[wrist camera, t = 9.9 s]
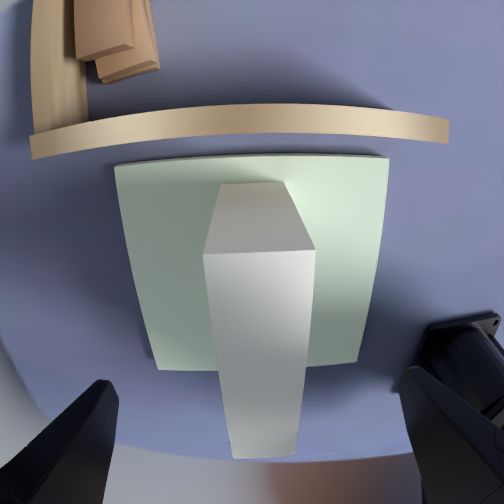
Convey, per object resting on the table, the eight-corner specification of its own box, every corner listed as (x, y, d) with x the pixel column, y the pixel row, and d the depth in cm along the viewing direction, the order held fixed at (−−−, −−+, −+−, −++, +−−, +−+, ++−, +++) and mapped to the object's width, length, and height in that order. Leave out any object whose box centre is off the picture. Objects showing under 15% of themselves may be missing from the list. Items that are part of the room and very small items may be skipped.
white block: (283, 181, 12) (316, 250, 7) (281, 355, 16) (294, 456, 11) (221, 184, 12) (202, 254, 7) (234, 358, 16) (233, 459, 11)
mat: (383, 156, 12) (389, 158, 12) (353, 354, 17) (356, 362, 17) (119, 164, 12) (113, 166, 12) (160, 362, 17) (158, 369, 17)
